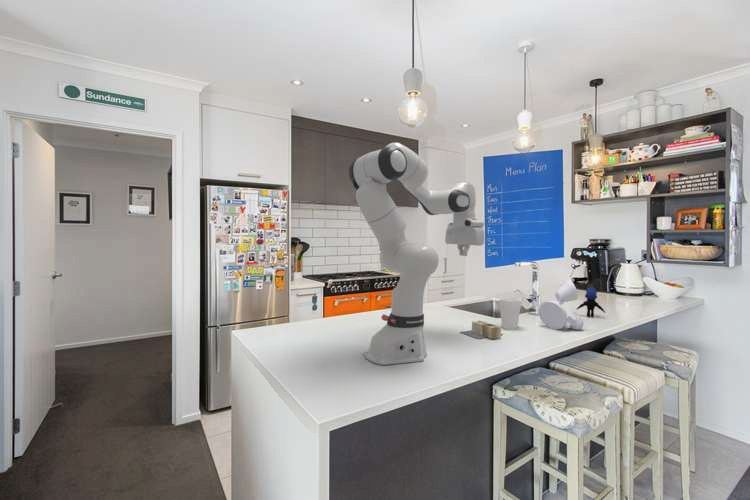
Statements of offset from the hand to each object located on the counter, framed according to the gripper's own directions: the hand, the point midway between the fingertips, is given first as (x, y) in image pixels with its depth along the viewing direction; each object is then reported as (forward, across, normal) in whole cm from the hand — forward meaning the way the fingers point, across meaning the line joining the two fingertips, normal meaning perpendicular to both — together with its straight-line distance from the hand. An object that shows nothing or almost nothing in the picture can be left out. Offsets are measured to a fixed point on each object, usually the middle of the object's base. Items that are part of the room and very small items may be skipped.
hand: (463, 255), depth 156 cm
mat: (+33, +3, +8) cm, 34 cm away
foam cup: (+33, +1, +27) cm, 43 cm away
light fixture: (+33, +9, +49) cm, 60 cm away
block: (+30, +12, +8) cm, 34 cm away
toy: (+33, +4, +82) cm, 89 cm away
